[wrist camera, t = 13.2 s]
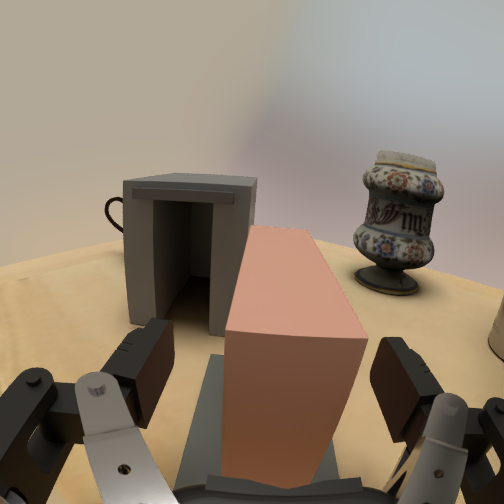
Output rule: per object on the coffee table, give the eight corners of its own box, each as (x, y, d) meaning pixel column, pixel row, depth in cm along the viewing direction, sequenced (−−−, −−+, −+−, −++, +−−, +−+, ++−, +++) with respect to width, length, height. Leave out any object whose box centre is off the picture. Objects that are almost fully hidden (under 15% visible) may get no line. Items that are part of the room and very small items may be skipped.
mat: (340, 503, 10) (342, 500, 10) (174, 494, 10) (173, 491, 10) (315, 366, 21) (316, 362, 21) (210, 358, 22) (210, 353, 21)
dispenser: (239, 343, 24) (250, 187, 20) (125, 327, 24) (116, 181, 20) (249, 277, 38) (257, 177, 34) (172, 270, 38) (173, 173, 35)
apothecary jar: (430, 282, 40) (450, 168, 35) (415, 308, 32) (444, 158, 27) (364, 262, 48) (379, 155, 43) (332, 280, 39) (350, 144, 34)
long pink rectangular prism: (297, 506, 10) (368, 338, 7) (221, 502, 10) (224, 330, 7) (287, 362, 21) (307, 230, 18) (240, 358, 21) (251, 225, 18)
